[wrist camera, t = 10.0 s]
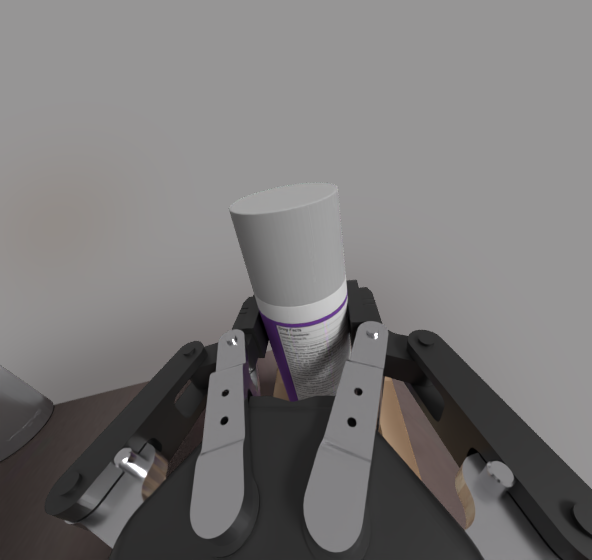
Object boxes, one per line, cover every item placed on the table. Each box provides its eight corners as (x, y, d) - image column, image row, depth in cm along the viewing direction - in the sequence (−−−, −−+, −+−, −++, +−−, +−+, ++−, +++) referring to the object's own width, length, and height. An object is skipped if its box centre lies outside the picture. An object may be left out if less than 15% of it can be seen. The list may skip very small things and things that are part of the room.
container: (290, 376, 19) (236, 194, 11) (344, 367, 19) (328, 176, 11) (293, 438, 15) (211, 224, 7) (362, 427, 15) (356, 197, 7)
